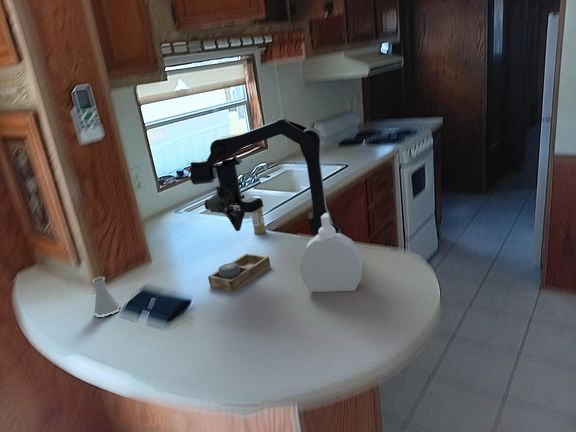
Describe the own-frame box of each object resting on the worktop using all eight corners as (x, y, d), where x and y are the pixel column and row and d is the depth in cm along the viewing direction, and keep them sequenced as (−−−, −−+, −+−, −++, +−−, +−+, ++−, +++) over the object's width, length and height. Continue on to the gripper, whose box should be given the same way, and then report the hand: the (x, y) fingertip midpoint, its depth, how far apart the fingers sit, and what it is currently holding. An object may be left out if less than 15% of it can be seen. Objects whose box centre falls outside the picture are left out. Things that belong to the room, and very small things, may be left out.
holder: (270, 266, 144) (268, 256, 143) (233, 292, 131) (231, 281, 130) (248, 263, 149) (246, 253, 148) (210, 287, 136) (208, 276, 135)
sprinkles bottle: (268, 231, 175) (262, 197, 171) (257, 235, 172) (251, 200, 168) (262, 229, 178) (256, 195, 174) (251, 232, 176) (245, 198, 172)
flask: (95, 321, 126) (85, 288, 123) (93, 311, 132) (83, 279, 129) (123, 312, 129) (113, 279, 126) (119, 302, 135) (110, 271, 132)
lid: (245, 277, 137) (243, 264, 136) (231, 286, 132) (229, 272, 131) (230, 274, 141) (228, 261, 139) (216, 282, 136) (213, 269, 135)
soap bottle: (365, 281, 125) (357, 210, 119) (363, 291, 120) (355, 217, 114) (306, 283, 129) (296, 215, 123) (302, 292, 124) (292, 221, 118)
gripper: (186, 187, 136) (197, 237, 141) (234, 189, 125) (244, 243, 130) (212, 177, 145) (222, 224, 150) (259, 178, 134) (268, 229, 139)
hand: (238, 230), depth 142 cm, fingers closed
